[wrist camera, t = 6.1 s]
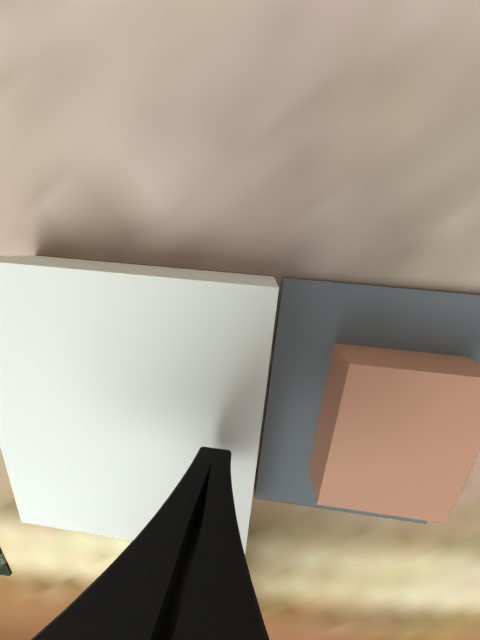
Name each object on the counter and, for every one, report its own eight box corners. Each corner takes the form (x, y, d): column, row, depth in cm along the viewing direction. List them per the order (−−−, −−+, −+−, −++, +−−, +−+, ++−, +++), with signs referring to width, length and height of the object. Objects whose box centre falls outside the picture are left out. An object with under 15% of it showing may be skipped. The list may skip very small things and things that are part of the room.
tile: (317, 504, 13) (308, 466, 16) (445, 523, 13) (417, 481, 15) (349, 363, 11) (334, 343, 13) (512, 380, 10) (465, 356, 13)
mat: (422, 517, 17) (426, 523, 16) (254, 492, 17) (254, 498, 17) (517, 298, 12) (525, 299, 12) (283, 277, 13) (283, 278, 12)
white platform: (248, 491, 18) (244, 559, 14) (71, 465, 18) (21, 521, 15) (274, 276, 13) (279, 287, 9) (35, 255, 14) (-53, 257, 10)
